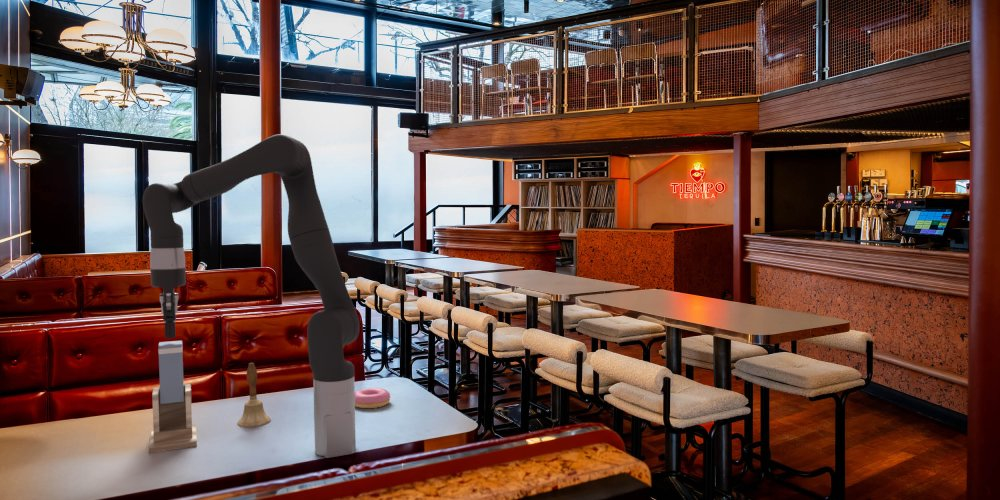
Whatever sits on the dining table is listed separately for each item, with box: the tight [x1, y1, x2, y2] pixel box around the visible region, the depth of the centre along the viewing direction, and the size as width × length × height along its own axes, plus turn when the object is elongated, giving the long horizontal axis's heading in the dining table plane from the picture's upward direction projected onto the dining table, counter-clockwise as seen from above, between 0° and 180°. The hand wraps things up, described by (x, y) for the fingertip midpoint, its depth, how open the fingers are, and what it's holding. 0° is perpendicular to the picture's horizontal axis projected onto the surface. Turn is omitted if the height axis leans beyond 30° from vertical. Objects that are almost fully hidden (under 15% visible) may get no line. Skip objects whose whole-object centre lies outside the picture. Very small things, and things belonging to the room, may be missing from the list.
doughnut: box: [355, 387, 391, 409], centre depth 185 cm, size 11×11×4 cm
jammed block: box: [157, 340, 185, 404], centre depth 155 cm, size 5×5×14 cm
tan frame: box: [148, 383, 198, 454], centre depth 156 cm, size 14×10×13 cm
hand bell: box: [237, 362, 271, 428], centre depth 170 cm, size 8×8×16 cm
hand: (170, 337), depth 155 cm, fingers closed
